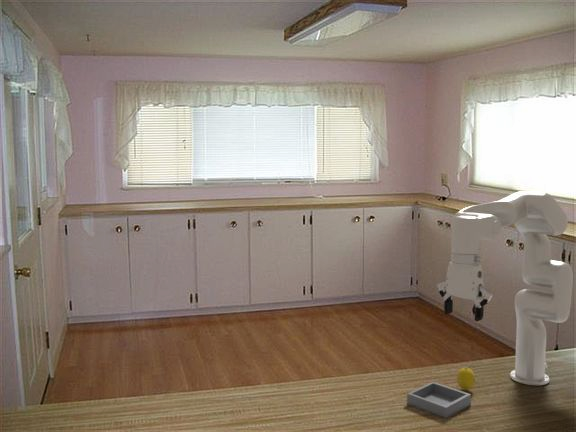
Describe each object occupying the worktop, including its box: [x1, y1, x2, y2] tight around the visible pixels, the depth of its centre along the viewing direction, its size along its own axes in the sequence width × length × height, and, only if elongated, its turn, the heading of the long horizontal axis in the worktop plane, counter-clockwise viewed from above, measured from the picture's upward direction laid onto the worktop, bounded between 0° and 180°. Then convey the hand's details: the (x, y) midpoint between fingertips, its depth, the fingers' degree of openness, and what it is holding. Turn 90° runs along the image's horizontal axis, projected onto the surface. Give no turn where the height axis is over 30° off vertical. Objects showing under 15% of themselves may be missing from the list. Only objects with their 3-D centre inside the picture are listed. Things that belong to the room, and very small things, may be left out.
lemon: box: [456, 366, 476, 392], centre depth 192 cm, size 6×6×8 cm
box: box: [406, 381, 472, 420], centre depth 182 cm, size 14×14×4 cm
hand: (463, 316), depth 169 cm, fingers open, 9 cm apart
